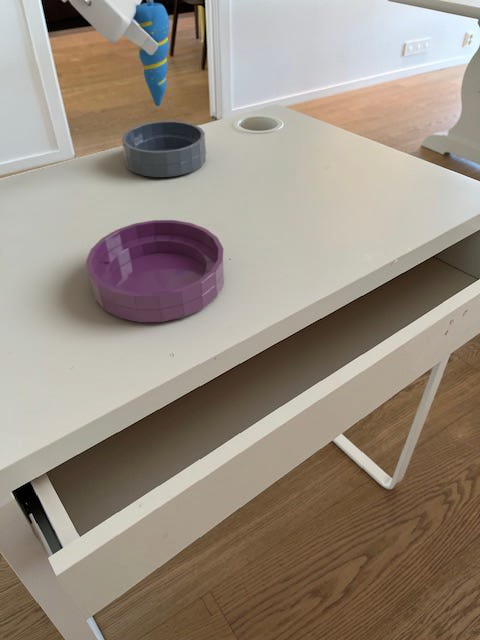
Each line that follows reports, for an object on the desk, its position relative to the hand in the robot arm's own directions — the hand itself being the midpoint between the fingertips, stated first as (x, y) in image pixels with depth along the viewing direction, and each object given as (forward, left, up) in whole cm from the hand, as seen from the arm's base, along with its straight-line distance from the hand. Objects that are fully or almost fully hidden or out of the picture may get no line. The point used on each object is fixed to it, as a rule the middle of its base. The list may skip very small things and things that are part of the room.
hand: (157, 44), depth 73 cm
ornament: (-1, -1, -9) cm, 9 cm away
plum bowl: (+12, -31, -18) cm, 37 cm away
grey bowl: (-1, 0, -18) cm, 18 cm away
